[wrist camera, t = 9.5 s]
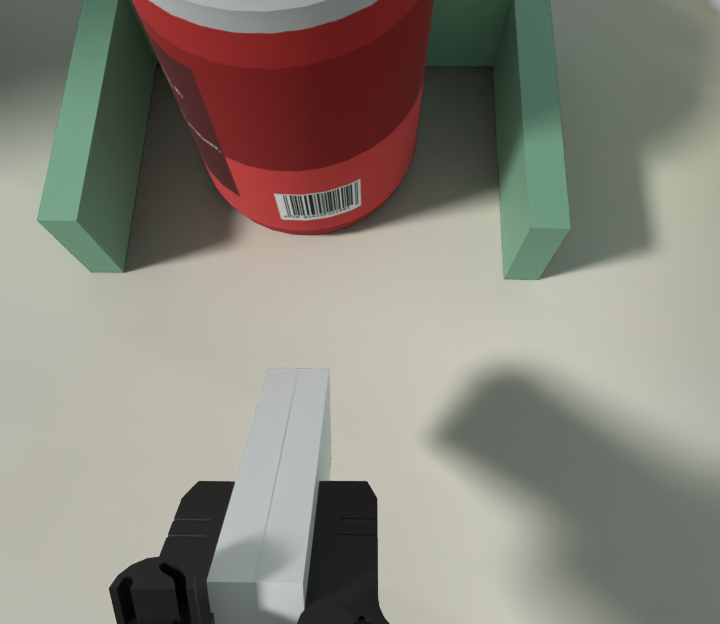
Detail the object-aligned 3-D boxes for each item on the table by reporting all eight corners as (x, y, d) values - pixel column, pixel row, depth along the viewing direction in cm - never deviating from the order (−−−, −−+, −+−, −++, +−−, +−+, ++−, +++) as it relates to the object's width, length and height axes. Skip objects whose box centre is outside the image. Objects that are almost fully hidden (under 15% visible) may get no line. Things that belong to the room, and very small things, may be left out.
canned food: (455, 134, 25) (515, -151, 15) (321, 284, 23) (283, 76, 13) (305, 35, 27) (264, -282, 17) (168, 167, 25) (25, -100, 15)
